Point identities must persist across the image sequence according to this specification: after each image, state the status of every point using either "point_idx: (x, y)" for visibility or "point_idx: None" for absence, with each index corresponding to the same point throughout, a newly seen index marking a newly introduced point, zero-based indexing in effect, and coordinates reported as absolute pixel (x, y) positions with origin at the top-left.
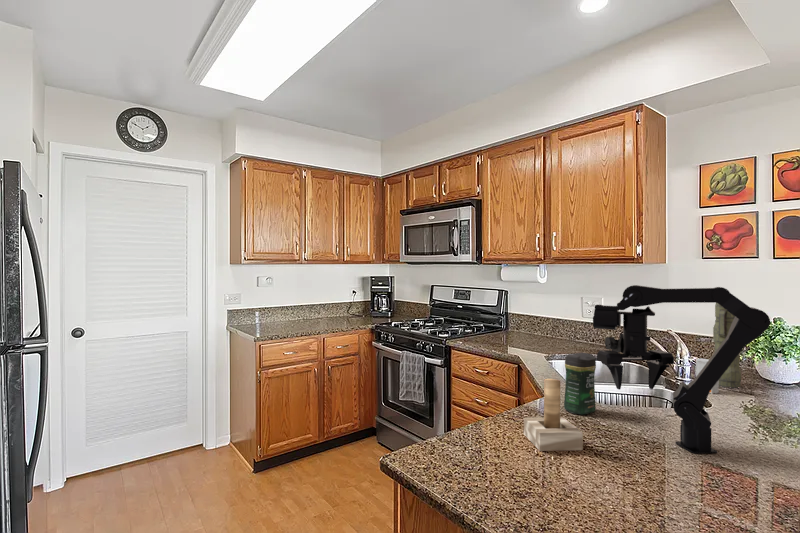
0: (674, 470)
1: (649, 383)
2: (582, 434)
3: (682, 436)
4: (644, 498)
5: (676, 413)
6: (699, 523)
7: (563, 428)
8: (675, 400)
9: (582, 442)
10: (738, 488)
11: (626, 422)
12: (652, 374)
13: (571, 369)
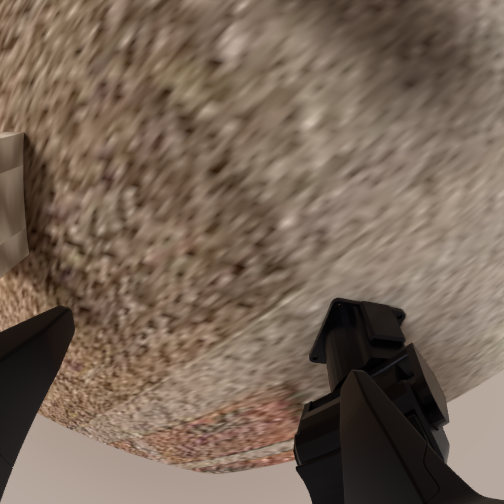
0: (177, 388)
1: (357, 404)
2: (3, 274)
3: (339, 337)
4: (72, 404)
5: (305, 416)
6: (110, 443)
7: None
8: (310, 459)
9: (16, 264)
10: (238, 440)
11: (354, 64)
12: (369, 495)
13: None
